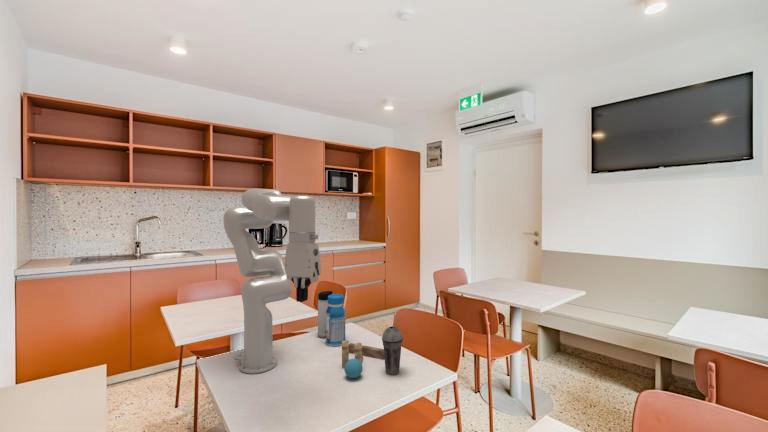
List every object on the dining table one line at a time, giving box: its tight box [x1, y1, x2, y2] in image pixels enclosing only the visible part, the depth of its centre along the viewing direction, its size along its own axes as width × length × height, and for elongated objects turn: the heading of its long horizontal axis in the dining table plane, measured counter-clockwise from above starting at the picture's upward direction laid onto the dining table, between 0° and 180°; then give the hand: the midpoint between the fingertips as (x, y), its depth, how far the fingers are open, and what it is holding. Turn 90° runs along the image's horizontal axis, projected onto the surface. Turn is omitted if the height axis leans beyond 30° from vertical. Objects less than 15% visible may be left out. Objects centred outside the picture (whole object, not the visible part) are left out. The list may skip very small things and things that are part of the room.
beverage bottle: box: [325, 293, 347, 347], centre depth 141 cm, size 8×8×20 cm
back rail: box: [349, 342, 385, 361], centre depth 129 cm, size 16×2×3 cm, turn 66°
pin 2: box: [354, 342, 363, 365], centre depth 117 cm, size 2×2×9 cm
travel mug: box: [317, 290, 334, 339], centre depth 149 cm, size 6×7×20 cm
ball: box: [343, 358, 363, 379], centre depth 111 cm, size 6×6×6 cm
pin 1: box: [341, 339, 350, 369], centre depth 119 cm, size 2×2×9 cm
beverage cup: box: [381, 313, 404, 376], centre depth 115 cm, size 7×7×20 cm
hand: (302, 300), depth 98 cm, fingers closed
